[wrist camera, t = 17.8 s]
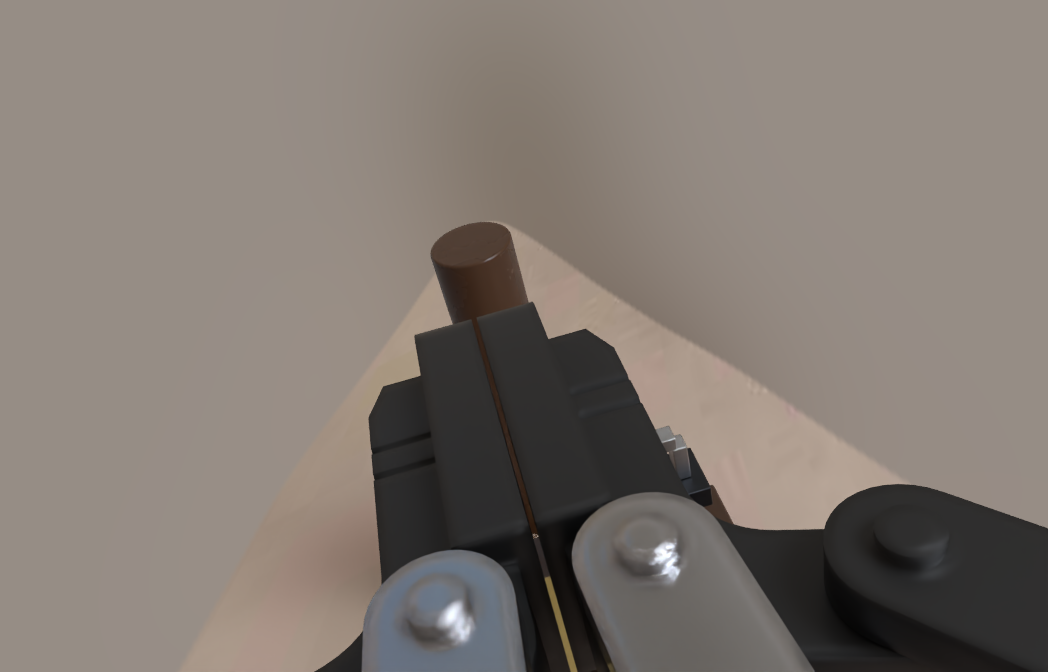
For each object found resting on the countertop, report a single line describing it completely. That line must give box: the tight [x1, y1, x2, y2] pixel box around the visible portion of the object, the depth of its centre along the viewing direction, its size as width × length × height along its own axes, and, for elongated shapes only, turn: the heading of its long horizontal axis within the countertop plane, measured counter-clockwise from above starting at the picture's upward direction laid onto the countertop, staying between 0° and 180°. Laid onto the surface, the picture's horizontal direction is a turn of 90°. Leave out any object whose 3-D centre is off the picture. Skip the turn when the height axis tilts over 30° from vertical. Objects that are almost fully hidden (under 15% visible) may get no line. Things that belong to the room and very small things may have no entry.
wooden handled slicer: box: [431, 222, 713, 534], centre depth 32 cm, size 8×6×16 cm
